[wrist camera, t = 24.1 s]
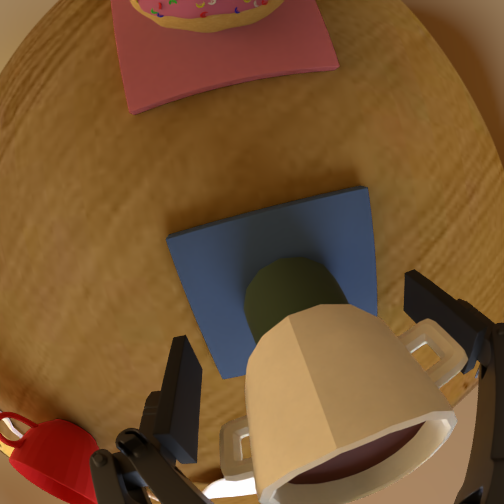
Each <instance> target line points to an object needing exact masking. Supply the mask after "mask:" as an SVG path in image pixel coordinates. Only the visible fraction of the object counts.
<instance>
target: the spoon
mask: <svg viewBox="0 0 504 504" xmlns="http://www.w3.org/2000/svg"><path fill="white" fill-rule="evenodd" d="M147 493H148V495H149V498H150V497H151V498H153V499H155V500H157V501H159V500H158V499H157V498H156V496H155V495H154V494H153V493H151V492H149V491H147ZM202 493H203V494H204V495H205V496H206V497H207V498H208V499H211V498H219V497H231V496H241V495H249V494H256V493H257V492H256V488H255V480H254V478H250V479H246V480H242V481H236V482H234V481H226V480H225V478H222V479H219V480H216V481H214V482H212V483H211V484H209V485H208V486H207V487H206V488H205V489H204V490H203V491H202Z"/></svg>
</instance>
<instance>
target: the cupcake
mask: <svg viewBox="0 0 504 504" xmlns="http://www.w3.org/2000/svg"><path fill="white" fill-rule="evenodd" d="M130 2H131V4H132V6H133V7H134V8H135V9H136V10H137V11H138V12H140V13H141V14H143V15H144V16H146V17H148V18H150V19H152V20H153V21H154V22H156V23H157V24H158V25H160V26H162V27H166V28H172V29H181V30H189V31H195V32H202V33H212V32H218V31H221V30H225V29H229V28H234V27H240V26H245V25H250V24H253V23H255V22H257V21H259V20H261V19H263V18H265V17H266V16H268V15H269V14H271V13H272V12H273V11H274V10H275V9H276V8H278V7H279V6H280V5H281V4H282V3H283V2H284V0H130Z"/></svg>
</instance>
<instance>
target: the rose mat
mask: <svg viewBox="0 0 504 504" xmlns="http://www.w3.org/2000/svg"><path fill="white" fill-rule="evenodd" d="M111 7H112V16H113V24H114V32H115V39H116V46H117V52H118V58H119V64H120V69H121V75H122V80H123V85H124V90H125V95H126V100H127V104H128V109H129V113H131V114H133V115H136V114H139V113H141V112H144V111H147V110H149V109H152V108H155V107H157V106H160V105H163V104H166V103H169V102H172V101H175V100H178V99H181V98H185V97H188V96H191V95H195V94H198V93H202V92H205V91H209V90H213V89H217V88H221V87H225V86H229V85H234V84H238V83H243V82H248V81H253V80H258V79H264V78H270V77H276V76H283V75H290V74H298V73H307V72H317V71H330V70H335V69H337V68H338V67H339V66H340V65H339V62H338V59H337V56H336V53H335V50H334V47H333V44H332V42H331V39H330V36H329V33H328V31H327V28H326V26H325V23H324V20H323V18H322V16H321V13H320V11H319V8H318V6H317V4H316V1H315V0H284V2H283V3H282V4H281V5H280V6H279V7H278V8H276V9H275V10H274V11H273V12H272V13H271V14H269V15H268V16H266V17H265V18H263V19H261V20H259V21H257V22H255V23H253V24H250V25H245V26H240V27H234V28H229V29H225V30H221V31H218V32H212V33H202V32H195V31H189V30H181V29H172V28H166V27H162V26H160V25H158V24H157V23H156V22H154V21H153V20H152V19H150V18H148V17H146V16H144V15H143V14H141V13H140V12H138V11H137V10H136V9H135V8H134V7H133V6H132V4H131V2H130V0H111Z"/></svg>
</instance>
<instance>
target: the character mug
mask: <svg viewBox="0 0 504 504" xmlns="http://www.w3.org/2000/svg"><path fill="white" fill-rule="evenodd" d="M243 310H244V313H245V316H246V320H247V323H248V326H249V328H250V331H251V333H252V336H253V338H254V341H255V343H256V347H255V349H254V351H253V352H252V354H251V356H250V357H249V359H248V364H247V368H246V381H245V399H246V409H247V415H246V416H243V417H240V418H237V419H235V420H232V421H229V422H227V423H226V424H224V425H223V426H222V427H221V430H220V468H221V471H222V473H223V475H224V478H225V480H226V481H234V482H236V481H242V480H246V479H250V478H254V480H255V488H256V492H257V496H258V500H259V502H260V503H261V504H346V503H349V502H352V501H355V500H358V499H361V498H363V497H366V496H369V495H371V494H373V493H375V492H378V491H380V490H382V489H384V488H386V487H388V486H390V485H392V484H393V483H395V482H397V481H398V480H400V479H402V478H403V477H405V476H406V475H408V474H409V473H411V472H413V471H414V470H415V469H416V468H417V467H419V466H420V465H421V464H423V463H424V462H425V461H426V460H428V459H429V458H430V457H431V456H432V455H433V454H434V453H435V452H436V451H437V450H438V449H439V448H440V447H441V446H442V444H443V443H444V442H445V441H446V440H447V439H448V438H449V436H450V434H451V432H452V430H453V428H454V427H455V425H456V423H457V419H456V416H455V414H454V411H453V409H452V408H451V406H450V404H449V402H448V401H447V399H446V397H445V396H444V395H443V394H442V392H441V391H440V390H439V388H440V387H441V386H443V385H444V384H445V383H447V382H448V381H449V380H450V379H452V378H453V377H454V376H455V375H456V374H458V373H459V372H460V371H461V370H462V369H463V367H464V366H465V364H466V363H467V361H468V357H467V355H466V353H465V350H464V349H463V348H462V347H461V346H460V345H459V344H458V343H457V342H456V341H455V340H454V339H453V338H452V337H451V336H450V335H449V334H448V333H447V332H446V331H445V330H444V329H443V328H442V327H441V326H440V325H438V324H437V323H436V322H435V321H433V320H431V319H428V318H427V319H425V320H423V321H420V322H418V323H417V324H416V325H414V326H413V327H411V328H410V329H409V330H407V331H406V332H404V333H403V334H401V335H400V336H399V337H397V336H396V335H395V334H394V333H393V332H392V330H391V329H390V328H389V327H388V326H387V325H386V323H385V322H384V321H383V320H382V319H381V318H378V317H376V316H374V315H372V314H370V313H368V312H366V311H364V310H362V309H359V308H357V307H355V306H353V305H351V304H349V303H348V301H347V299H346V296H345V294H344V292H343V291H342V289H341V287H340V285H339V284H338V282H337V280H336V279H335V277H334V276H333V275H332V274H331V273H330V272H329V270H328V269H327V268H326V267H325V266H324V265H323V264H321V263H318V262H316V261H313V260H310V259H308V258H305V257H293V258H280V259H278V260H276V261H274V262H273V263H271V264H269V265H267V266H266V267H264V268H262V269H260V270H259V271H258V273H257V274H256V276H255V277H254V279H253V280H252V281H251V283H250V284H249V286H248V287H247V289H246V295H245V302H244V309H243ZM424 344H428V345H429V346H430V347H431V348H432V349H433V350H434V351H435V353H436V354H437V355H438V356H439V357H440V358H441V360H440V361H439V362H437V363H436V364H435V365H433V366H432V367H431V368H429V369H428V370H427V371H425V370H424V369H423V368H422V367H421V365H420V364H419V363H418V362H417V361H416V359H415V358H414V357H413V356H412V354H411V353H412V352H414V351H415V350H416V349H418V348H419V347H421V346H422V345H424ZM246 436H249V437H250V446H251V454H252V457H251V458H247V459H244V460H243V459H242V448H241V439H242V438H243V437H246Z"/></svg>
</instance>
